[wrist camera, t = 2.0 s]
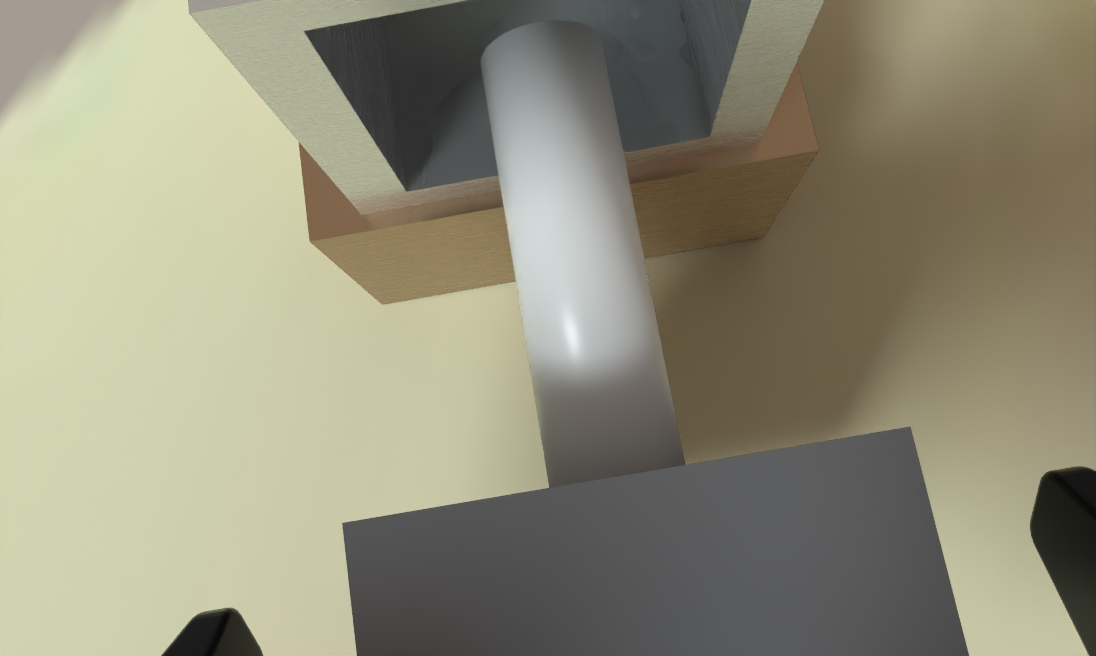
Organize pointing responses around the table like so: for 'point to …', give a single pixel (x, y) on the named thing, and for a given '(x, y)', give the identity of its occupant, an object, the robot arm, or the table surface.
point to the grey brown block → (465, 133)
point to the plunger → (638, 455)
